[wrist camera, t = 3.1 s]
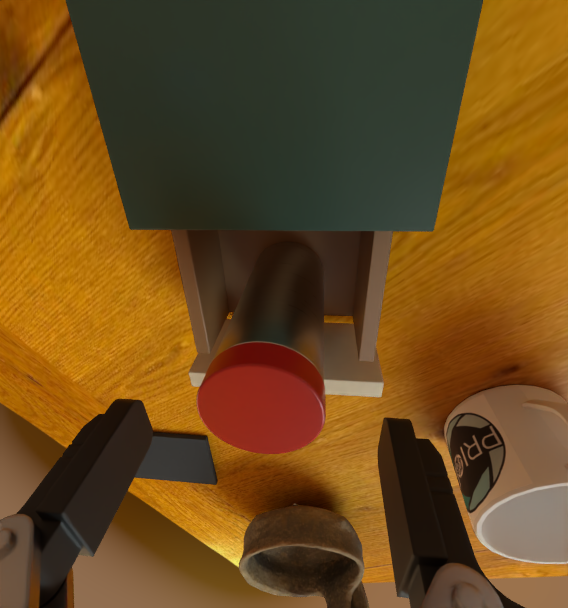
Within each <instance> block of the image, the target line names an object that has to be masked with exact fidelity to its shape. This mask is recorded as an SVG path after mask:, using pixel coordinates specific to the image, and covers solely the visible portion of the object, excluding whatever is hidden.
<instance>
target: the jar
mask: <svg viewBox="0 0 568 608" xmlns="http://www.w3.org/2000/svg"><path fill="white" fill-rule="evenodd" d="M197 409H198V413H199V415H200V417H201V419H202V421H203V423H204V424H205V425H206V427H207V428H208V429H209V430H210V431H211V432H212V433H213V434H214V435H216V436H217V437H218V438H220V439H221V440H223V441H224V442H226V443H228V444H230V445H232V446H234V447H237V448H240V449H243V450H246V451H250V452H255V453H262V454H279V453H286V452H291V451H294V450H297V449H300V448H302V447H304V446H306V445H308V444H309V443H311V442H312V441H313V440H314V439H315V438H316V437H317V436H318V435H319V433H320V432H321V430H322V428H323V425H324V423H325V417H326V415H325V385H324V270H323V266H322V263H321V261H320V259H319V258H318V256H317V255H316V254H315V253H314V252H313V251H312V250H311V249H309V248H308V247H306V246H304V245H302V244H299V243H295V242H281V243H277V244H274V245H272V246H270V247H268V248H267V249H265V250H264V251H263V252H262V253H261V254H260V256H259V257H258V259H257V261H256V264H255V266H254V268H253V271H252V273H251V275H250V277H249V280H248V282H247V284H246V287H245V289H244V291H243V293H242V296H241V298H240V300H239V303H238V305H237V307H236V309H235V312H234V314H233V316H232V319H231V321H230V323H229V325H228V328H227V330H226V332H225V334H224V337H223V339H222V341H221V344H220V346H219V348H218V350H217V353H216V355H215V357H214V360H213V361H212V362H211V364H210V365H209V368H208V370H207V372H206V374H205V377H204V379H203V381H202V383H201V386H200V388H199V390H198V394H197Z"/></svg>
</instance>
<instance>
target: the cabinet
mask: <svg viewBox="0 0 568 608" xmlns="http://www.w3.org/2000/svg"><path fill="white" fill-rule="evenodd" d="M66 3H67V7H68V11H69V14H70V18H71V21H72V25H73V28H74V32H75V35H76V39H77V43H78V46H79V50H80V53H81V57H82V60H83V64H84V68H85V71H86V75H87V78H88V82H89V85H90V89H91V92H92V96H93V100H94V103H95V107H96V110H97V114H98V117H99V121H100V124H101V128H102V132H103V135H104V139H105V142H106V146H107V149H108V153H109V157H110V160H111V164H112V167H113V171H114V174H115V178H116V181H117V185H118V189H119V192H120V196H121V199H122V203H123V206H124V210H125V213H126V217H127V221H128V224H129V228H130V229H131V230H285V231H433V230H434V226H435V222H436V217H437V212H438V208H439V203H440V198H441V194H442V189H443V185H444V180H445V175H446V171H447V166H448V161H449V157H450V152H451V147H452V143H453V138H454V133H455V129H456V124H457V120H458V115H459V110H460V106H461V101H462V96H463V92H464V87H465V82H466V78H467V73H468V69H469V64H470V59H471V55H472V50H473V45H474V41H475V36H476V31H477V27H478V22H479V17H480V13H481V8H482V4H483V0H66Z"/></svg>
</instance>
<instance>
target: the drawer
mask: <svg viewBox="0 0 568 608" xmlns="http://www.w3.org/2000/svg"><path fill="white" fill-rule="evenodd" d="M171 231H172V236H173V241H174V245H175V250H176V255H177V260H178V264H179V269H180V274H181V278H182V283H183V288H184V292H185V297H186V302H187V306H188V311H189V316H190V320H191V325H192V330H193V334H194V339H195V344H196V348H197V352H198V355H197V357H196V359H195V361H194V363H193V365H192V367H191V369H190V371H189V376H190V380H191V384H192V386H197V387H200V386H201V383H202V381H203V379H204V377H205V374H206V372H207V370H208V368H209V365H210V364H211V362H212V361H213V360H214V357H215V355H216V353H217V350H218V348H219V346H220V344H221V341H222V339H223V337H224V334H225V332H226V330H227V328H228V325H229V323H230V321H231V319H226V318H227V316H228V314H229V312H235V309H236V307H237V305H238V303H239V300H240V298H241V296H242V293H243V291H244V289H245V287H246V284H247V282H248V280H249V277H250V275H251V273H252V271H253V268H254V266H255V264H256V261H257V259H258V257H259V256H260V254H261V253H262V252H263V251H264V250H265V249H267V248H268V247H270V246H272V245H274V244H277V243H281V242H295V243H299V244H302V245H304V246H306V247H308V248H309V249H311V250H312V251H313V252H314V253H315V254H316V255H317V256H318V258H319V259H320V261H321V263H322V266H323V270H324V315H338V316H353V322H354V324H349V323H324V385H325V394H334V395H351V396H368V397H381V396H382V390H383V385H384V381H383V376H382V372H381V367H380V363H379V358H378V354H377V349H376V341H377V335H378V328H379V321H380V315H381V308H382V301H383V294H384V288H385V281H386V274H387V268H388V261H389V254H390V248H391V241H392V234H393V231H285V230H171Z"/></svg>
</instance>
